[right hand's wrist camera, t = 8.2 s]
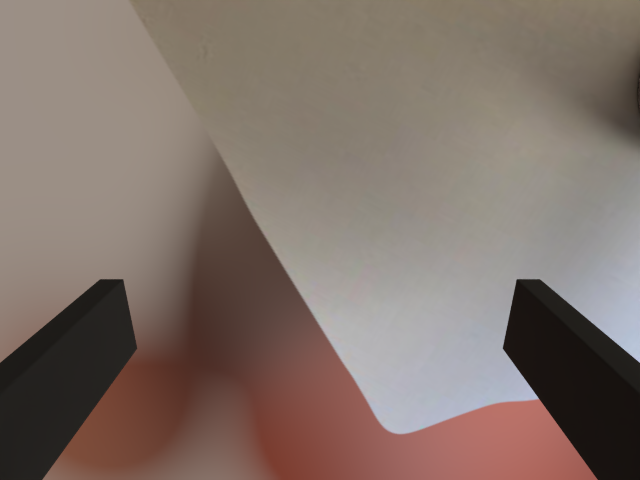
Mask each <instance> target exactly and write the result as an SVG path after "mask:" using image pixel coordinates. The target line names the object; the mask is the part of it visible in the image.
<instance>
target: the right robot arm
mask: <svg viewBox="0 0 640 480" xmlns="http://www.w3.org/2000/svg"><path fill="white" fill-rule="evenodd" d="M638 101H639V109H640V79H639V88H638ZM136 349H137V345H136V340H135V336H134V331H133V326H132V321H131V316H130V311H129V306H128V301H127V296H126V291H125V286H124V281H123V279H101V280H99V281H98V282H96V283H95V284H94V285H93V286H92V287H91V288H89V289H88V290H87V291H86V292H85V293H83V294H82V295H81V296H80V297H79V298H77V299H76V300H75V301H74V302H73V303H71V304H70V305H69V306H68V307H67V308H65V309H64V310H63V311H62V312H61V313H59V314H58V315H57V316H56V317H55V318H53V319H52V320H51V321H50V322H49V323H47V324H46V325H45V326H44V327H43V328H42V329H40V330H39V331H38V332H37V333H35V334H34V335H33V336H32V337H31V338H30V339H28V340H27V341H26V342H25V343H24V344H22V345H21V346H20V347H19V348H18V349H16V350H15V351H14V352H13V353H12V354H10V355H9V356H8V357H7V358H6V359H4V360H3V361H2V362H1V363H0V480H42V479H43V478H44V477H45V475H46V474H47V472H48V471H49V470H50V468H51V467H52V465H53V464H54V463H55V461H56V460H57V459H58V457H59V456H60V454H61V453H62V452H63V450H64V449H65V447H66V446H67V445H68V443H69V442H70V441H71V439H72V438H73V436H74V435H75V434H76V432H77V431H78V430H79V428H80V427H81V425H82V424H83V423H84V421H85V420H86V418H87V417H88V416H89V414H90V413H91V412H92V410H93V409H94V407H95V406H96V405H97V403H98V402H99V401H100V399H101V398H102V396H103V395H104V393H105V392H106V391H107V389H108V388H109V387H110V385H111V384H112V383H113V381H114V380H115V378H116V377H117V376H118V374H119V373H120V371H121V370H122V369H123V367H124V366H125V365H126V363H127V362H128V360H129V359H130V358H131V356H132V355H133V354H134V352H135V351H136ZM503 349H504V351H505V352H506V354H507V355H508V356H509V358H510V359H511V360H512V362H513V363H514V365H515V366H516V367H517V369H518V370H519V371H520V373H521V374H522V376H523V377H524V378H525V380H526V381H527V383H528V384H529V385H530V387H531V388H532V389H533V391H534V392H535V394H536V395H537V396H538V398H539V399H540V401H541V402H542V403H543V405H544V406H545V407H546V409H547V410H548V411H549V413H550V414H551V416H552V417H553V418H554V420H555V421H556V423H557V424H558V425H559V427H560V428H561V429H562V431H563V432H564V434H565V435H566V436H567V438H568V439H569V441H570V442H571V443H572V445H573V446H574V448H575V449H576V450H577V452H578V453H579V454H580V456H581V457H582V459H583V460H584V461H585V463H586V464H587V465H588V467H589V468H590V470H591V471H592V472H593V474H594V475H595V477H596V478H597V479H598V480H640V363H639V362H638V361H637V360H636V359H634V358H633V357H632V356H631V355H630V354H628V353H627V352H626V351H625V350H624V349H622V348H621V347H620V346H619V345H618V344H617V343H615V342H614V341H613V340H612V339H611V338H609V337H608V336H607V335H606V334H605V333H603V332H602V331H601V330H600V329H599V328H597V327H596V326H595V325H594V324H593V323H591V322H590V321H589V320H588V319H587V318H585V317H584V316H583V315H582V314H581V313H579V312H578V311H577V310H576V309H575V308H573V307H572V306H571V305H570V304H569V303H567V302H566V301H565V300H564V299H563V298H561V297H560V296H559V295H558V294H557V293H555V292H554V291H553V290H552V289H551V288H549V287H548V286H547V285H546V284H545V283H544V282H542V281H541V280H540V279H517V281H516V286H515V291H514V296H513V301H512V306H511V311H510V316H509V321H508V326H507V331H506V335H505V340H504V345H503Z"/></svg>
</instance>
